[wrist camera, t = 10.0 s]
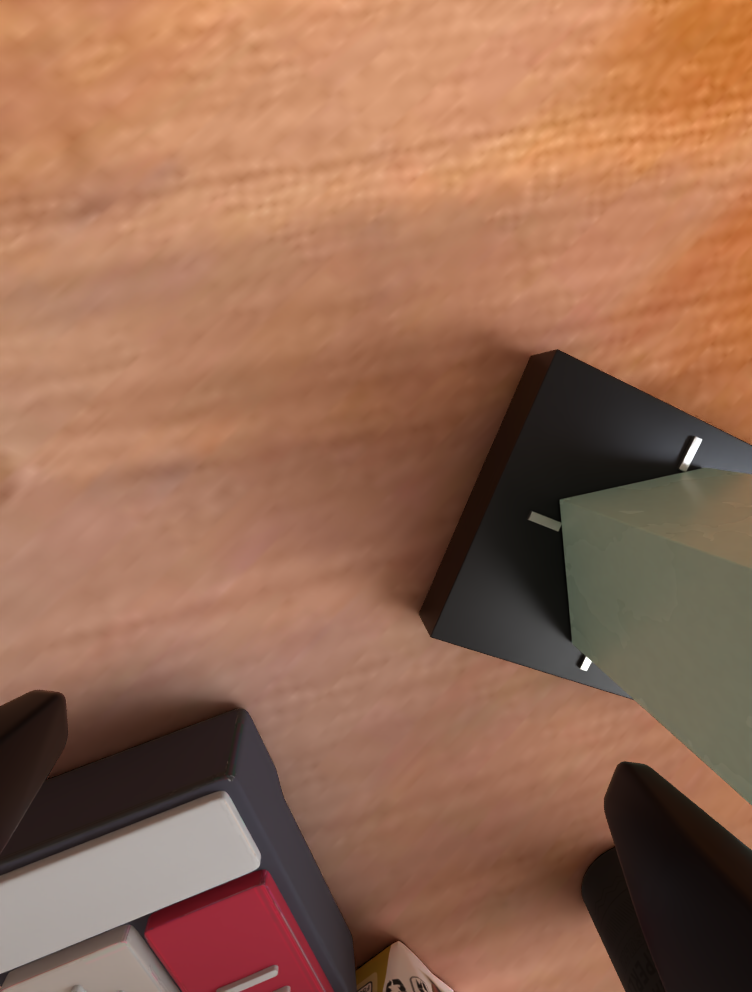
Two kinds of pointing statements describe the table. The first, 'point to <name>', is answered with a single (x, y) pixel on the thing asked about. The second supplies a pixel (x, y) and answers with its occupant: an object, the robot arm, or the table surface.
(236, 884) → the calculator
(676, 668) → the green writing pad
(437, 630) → the black square clock
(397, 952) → the juice carton
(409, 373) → the table surface
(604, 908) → the drinking cup
